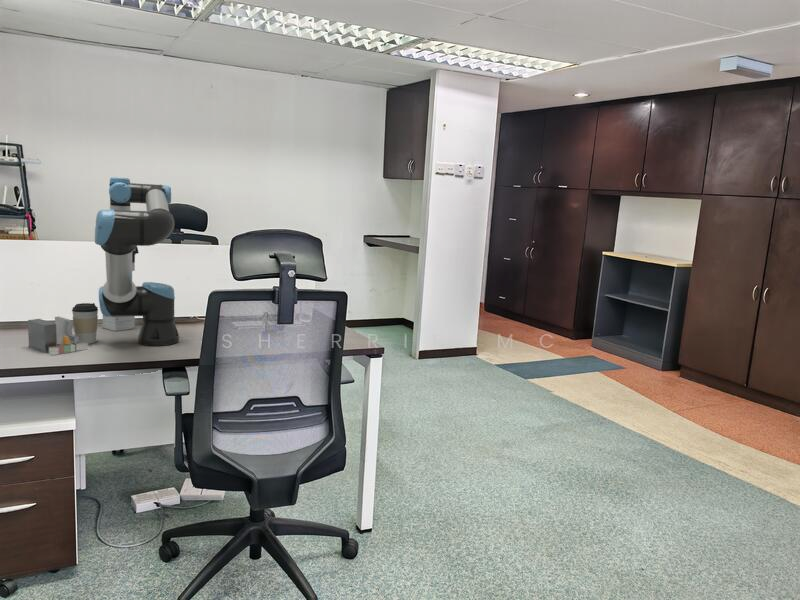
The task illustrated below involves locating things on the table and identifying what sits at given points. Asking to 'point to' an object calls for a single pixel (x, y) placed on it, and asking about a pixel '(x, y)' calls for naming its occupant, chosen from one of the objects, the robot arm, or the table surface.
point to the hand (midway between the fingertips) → (121, 269)
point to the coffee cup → (85, 322)
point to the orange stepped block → (66, 340)
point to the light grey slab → (64, 330)
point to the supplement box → (119, 323)
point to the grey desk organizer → (49, 338)
